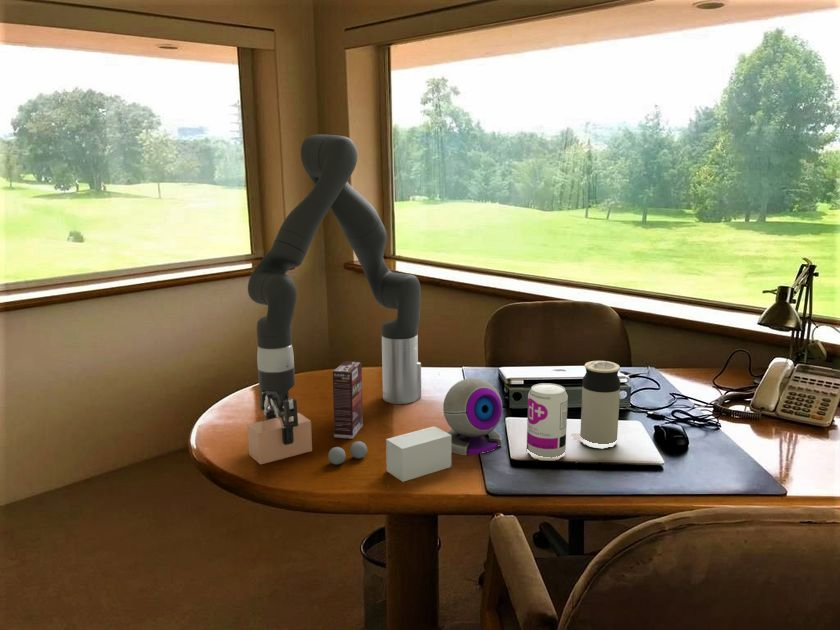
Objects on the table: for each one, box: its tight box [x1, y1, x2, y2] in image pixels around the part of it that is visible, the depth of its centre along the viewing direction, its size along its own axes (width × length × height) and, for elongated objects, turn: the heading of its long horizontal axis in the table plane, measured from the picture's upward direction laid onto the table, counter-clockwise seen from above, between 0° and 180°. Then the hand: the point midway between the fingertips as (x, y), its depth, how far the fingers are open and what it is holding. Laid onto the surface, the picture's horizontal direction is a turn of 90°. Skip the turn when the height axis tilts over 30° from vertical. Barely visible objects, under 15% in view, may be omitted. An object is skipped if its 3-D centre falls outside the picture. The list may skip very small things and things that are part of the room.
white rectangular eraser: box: [385, 426, 452, 483], centre depth 150 cm, size 12×6×7 cm, turn 124°
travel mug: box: [579, 360, 621, 444], centre depth 161 cm, size 8×8×18 cm
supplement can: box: [526, 382, 569, 458], centre depth 155 cm, size 8×8×15 cm
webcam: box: [442, 377, 503, 456], centre depth 162 cm, size 13×13×15 cm
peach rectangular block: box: [246, 412, 313, 465], centre depth 158 cm, size 12×6×7 cm, turn 124°
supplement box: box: [332, 360, 364, 440], centre depth 169 cm, size 9×5×16 cm, turn 168°
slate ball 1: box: [327, 446, 346, 466], centre depth 153 cm, size 4×4×4 cm
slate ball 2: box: [349, 440, 368, 459], centre depth 156 cm, size 4×4×4 cm
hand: (279, 437), depth 158 cm, fingers open, 8 cm apart
